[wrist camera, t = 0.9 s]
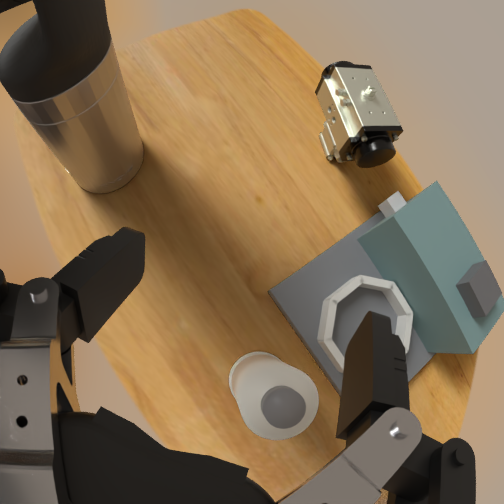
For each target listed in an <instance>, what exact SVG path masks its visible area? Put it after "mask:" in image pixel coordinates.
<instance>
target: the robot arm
mask: <svg viewBox="0 0 504 504" xmlns="http://www.w3.org/2000/svg"><path fill="white" fill-rule="evenodd" d="M29 1H32V0H0V13H2V12H4V11H7V10H9V9H11V8H14V7H16V6H19V5H21V4H24V3H26V2H29ZM33 2H34V4H35V8H36V11H37V14H36V15H34V16H33V17H32V18H30V19H29V20H28V21H26V22H25V23H24V24H23V25H22V26H21V27H20V28H19V29H18V30H17V31H16V32H15V33H14V34H13V35H12V36H11V38H10V39H9V40H8V42H7V43H6V44H5V46H4V48H3V49H2V51H1V53H0V82H1V83H2V85H3V86H4V88H5V89H6V91H7V92H8V94H9V95H10V97H11V98H12V99H13V101H14V102H15V104H16V105H17V106H18V108H19V109H20V111H21V112H22V113H23V115H24V116H25V117H26V118H27V120H28V121H29V122H30V124H31V125H32V126H33V128H34V129H35V130H36V132H37V133H38V134H39V136H40V137H41V138H42V140H43V141H44V142H45V143H46V145H47V146H48V147H49V149H50V150H51V151H52V152H53V154H54V155H55V156H56V157H57V159H58V160H59V161H60V162H61V164H62V165H63V166H64V167H65V169H66V170H67V171H68V172H69V174H70V175H71V176H72V177H73V178H74V180H75V181H76V182H77V183H78V184H79V186H80V187H82V188H83V189H85V190H86V191H89V192H92V193H99V194H100V193H108V192H112V191H115V190H117V189H119V188H121V187H123V186H124V185H125V184H127V183H128V182H129V181H130V180H131V179H132V178H133V177H134V176H135V175H136V173H137V172H138V170H139V169H140V166H141V164H142V161H143V156H144V148H143V144H142V141H141V138H140V135H139V131H138V128H137V124H136V121H135V118H134V115H133V111H132V108H131V105H130V102H129V98H128V95H127V92H126V88H125V85H124V81H123V78H122V74H121V71H120V67H119V64H118V61H117V57H116V53H115V49H114V46H113V42H112V38H111V34H110V30H109V27H108V22H107V15H106V7H105V0H33ZM144 265H145V235H144V233H142V232H139V231H136V230H133V229H130V228H128V227H123V228H121V229H120V230H119V231H118V232H116V233H115V234H114V235H113V236H109V235H108V236H106V237H103V238H101V239H98V240H96V241H94V242H93V243H92V244H91V245H89V246H88V247H87V248H86V250H83V251H82V252H81V253H80V254H79V256H76V257H75V258H74V259H73V260H72V261H70V262H69V263H68V264H67V265H66V266H65V267H63V268H62V269H61V270H60V271H59V272H58V273H57V274H55V275H54V277H52V278H51V279H49V278H44V277H40V278H35V279H32V280H30V281H28V282H26V283H25V284H24V285H23V286H22V285H17V284H13V283H8V282H6V279H5V276H4V273H3V271H2V270H1V269H0V504H374V503H375V502H376V501H377V500H378V499H379V497H380V496H381V491H380V490H381V488H383V489H385V490H387V491H389V492H388V499H387V504H475V501H476V471H475V455H474V452H473V450H472V448H471V446H470V445H469V444H468V443H467V442H466V441H464V440H463V439H460V438H452V439H450V440H448V441H447V442H445V443H444V444H442V443H440V442H438V441H436V440H434V439H432V438H430V437H428V436H426V435H425V434H423V433H422V428H421V425H420V422H419V420H418V419H417V417H416V416H415V415H414V414H413V413H412V412H410V405H409V388H408V374H407V363H406V353H405V347H404V345H403V343H402V341H401V339H400V337H399V335H395V334H392V326H391V319H390V317H388V316H385V315H382V314H379V313H376V312H373V311H368V312H367V314H366V315H365V317H364V318H363V320H362V322H361V323H360V325H359V327H358V328H357V330H356V332H355V333H354V335H353V337H352V338H351V340H350V342H349V344H348V346H347V349H346V352H345V358H344V369H343V380H342V390H341V399H340V408H339V416H338V424H337V432H336V438H339V439H344V440H346V448H345V449H344V450H343V451H341V452H340V453H339V454H338V455H337V456H336V457H334V458H333V459H332V460H331V461H330V462H329V463H327V464H326V465H325V466H324V467H322V468H321V469H320V470H319V471H318V472H316V473H315V474H314V475H313V476H311V477H310V478H309V479H307V480H306V481H305V482H303V483H302V484H301V485H299V486H298V487H297V488H295V489H294V490H292V491H291V492H290V493H288V494H287V495H285V496H284V497H283V498H281V499H280V500H278V501H277V502H274V500H273V499H272V498H271V496H270V495H269V494H268V493H267V492H266V491H265V490H264V489H263V488H262V487H261V486H259V485H258V484H257V483H255V482H254V481H253V480H251V479H249V478H248V477H246V476H247V473H248V470H249V468H246V467H242V466H239V465H236V464H233V463H230V462H227V461H224V460H221V459H218V458H215V457H212V456H208V455H200V454H193V453H187V452H180V451H175V450H170V449H167V448H165V447H163V446H162V445H161V444H159V443H158V442H157V441H155V440H154V439H153V438H151V437H150V436H149V435H147V434H146V433H145V432H144V431H143V430H141V429H140V428H139V427H137V426H136V425H135V424H134V423H132V422H130V421H128V420H126V419H124V418H122V417H120V416H118V415H116V414H114V413H112V412H111V411H109V410H107V409H105V408H103V407H100V409H99V410H98V412H97V413H96V414H94V413H88V412H81V411H80V406H79V403H78V399H77V394H76V383H75V366H74V346H73V342H74V341H75V340H76V339H77V338H80V339H82V340H84V341H85V342H87V343H89V342H90V341H91V339H92V338H93V337H94V336H95V335H96V333H97V332H98V331H99V330H100V328H101V327H102V326H103V325H104V324H105V322H106V321H107V320H108V319H109V318H110V317H111V315H112V314H113V313H114V312H115V311H116V309H117V308H118V307H119V306H120V305H121V304H122V302H123V301H124V300H125V299H126V298H127V297H128V295H129V294H130V293H131V292H132V291H133V290H134V289H135V287H136V286H137V285H138V284H139V282H140V281H141V279H142V276H143V273H144Z"/></svg>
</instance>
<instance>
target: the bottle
mask: <svg viewBox="0 0 504 504" xmlns="http://www.w3.org/2000/svg"><path fill="white" fill-rule="evenodd" d="M229 386H230V390H231V392H232V394H233V396H234V398H235V399H236V401H237V404H238V407H239V409H240V412H241V415H242V418H243V420H244V422H245V424H246V425H247V427H248V428H249V429H250V430H251V431H252V432H254V433H255V434H257V435H258V436H260V437H263V438H266V439H270V440H284V439H289V438H292V437H294V436H296V435H298V434H300V433H301V432H303V431H304V430H305V429H306V428H307V427H308V426H309V425H310V424H311V423H312V421H313V419H314V418H315V416H316V413H317V410H318V405H319V396H318V391H317V388H316V386H315V384H314V382H313V381H312V380H311V378H310V377H309V376H308V375H307V374H305V373H304V372H302V371H301V370H299V369H297V368H294V367H292V366H290V365H288V364H286V363H284V362H282V361H281V360H280V359H279V358H277V357H276V356H274V355H272V354H269V353H267V352H260V351H258V352H251V353H248V354H245V355H244V356H242V357H240V358H239V359H238V360H237V361H236V362H235V363H234V365H233V366H232V368H231V371H230V374H229Z"/></svg>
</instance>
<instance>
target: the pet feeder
mask: <svg viewBox="0 0 504 504" xmlns="http://www.w3.org/2000/svg"><path fill="white" fill-rule="evenodd" d="M378 207H379V209H380V211H379V212H378V213H376V214H375V215H374V216H372V217H371V218H370V219H368V220H367V221H366V222H364V223H363V224H362V225H360V226H359V227H358V228H356V229H355V230H353V231H352V232H351V233H349V234H348V235H347V236H345V237H344V238H343V239H341V240H340V241H338V242H337V243H336V244H334V245H333V246H332V247H330V248H329V249H327V250H326V251H325V252H323V253H322V254H320V255H319V256H318V257H316V258H315V259H313V260H312V261H311V262H309V263H308V264H306V265H305V266H304V267H302V268H301V269H299V270H298V271H296V272H295V273H294V274H292V275H291V276H289V277H288V278H286V279H285V280H284V281H282V282H281V283H279V284H278V285H276V286H275V287H273V288H272V289H271V290H269V291H268V293H269V295H270V296H271V297H272V299H273V300H274V302H275V303H276V305H277V306H278V308H279V309H280V310H281V312H282V313H283V315H284V316H285V318H286V319H287V321H288V322H289V324H290V325H291V326H292V328H293V329H294V331H295V332H296V334H297V335H298V336H299V338H300V339H301V341H302V342H303V344H304V345H305V347H306V348H307V349H308V351H309V352H310V354H311V355H312V357H313V358H314V360H315V361H316V362H317V364H318V365H319V367H320V368H321V370H322V371H323V372H324V374H325V375H326V377H327V378H328V380H329V381H330V382H331V384H332V385H333V387H334V388H335V390H336V391H337V392H338V394H339V395H340V397H341V390H342V380H343V369H344V358H345V352H346V349H347V346H348V344H349V342H350V340H351V338H352V337H353V335H354V333H355V332H356V330H357V328H358V327H359V325H360V323H361V322H362V320H363V318H364V317H365V315H366V314H367V312H368V311H373V312H376V313H379V314H382V315H385V316H388V317H390V319H391V326H392V334H395V335H399V337H400V339H401V341H402V343H403V345H404V347H405V353H406V363H407V374H408V382H409V381H410V380H411V379H412V378H413V377H414V376H415V375H416V374H417V373H418V372H419V371H420V370H421V369H422V368H423V367H424V365H425V364H426V363H427V362H428V361H429V360H430V359H431V358H432V357H433V356H434V355H435V354H436V353H454V354H474V352H475V351H476V350H477V348H478V347H479V346H480V344H481V343H482V342H483V340H484V339H485V338H486V336H487V335H488V333H489V332H490V331H491V329H492V327H493V326H494V325H495V323H496V322H497V320H498V319H499V317H500V316H501V314H502V313H503V312H504V298H503V296H502V292H501V290H500V288H499V285H498V283H497V281H496V279H495V277H494V275H493V273H492V271H491V269H490V267H489V265H488V263H487V261H486V260H484V258H483V256H482V254H481V252H480V250H479V248H478V247H477V245H476V243H475V241H474V240H473V238H472V236H471V234H470V232H469V231H468V229H467V227H466V226H465V224H464V222H463V221H462V219H461V217H460V216H459V214H458V212H457V211H456V209H455V208H454V206H453V205H452V203H451V201H450V200H449V198H448V197H447V195H446V194H445V192H444V191H443V190H442V188H441V186H440V185H439V183H438V182H437V181H436V182H434V183H433V184H432V185H430V186H429V187H427V188H426V189H424V190H423V191H421V192H420V193H419V194H417V195H416V196H414V197H413V198H411V199H410V200H408V201H407V202H406V201H405V200H404V198H403V197H402V195H401V194H400V193H399V191H397V192H396V193H394V194H393V195H392V196H390V197H389V198H387V199H386V200H385V201H384V202H382V203H381V204H380V205H378Z"/></svg>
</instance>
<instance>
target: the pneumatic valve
mask: <svg viewBox="0 0 504 504" xmlns="http://www.w3.org/2000/svg"><path fill="white" fill-rule="evenodd" d="M315 93H316V95H317V98H318V100H319V103H320V105H321V108H322V110H323V113H324V115H325V118H326V121H325V122H324V124H323V125H324V127H325V128H324V129H323V131H322V132H320V135H319V138H320V141H321V144H322V147H323V150H324V153H325V155H326V158H328V159H329V160H330V161H331V160H333V157H336V160H337V162H340V163H342V162H347V161H356V164H357V166H359V167H361V168H370V167H375V166H378V165H381V164H384V163H386V162H387V161H389V160H391V159H392V158H393V157H394V156H395V154H396V151H395V148H394V146H393V142H394V141H396V140H398V139H399V138H398V136H399V135H400V134H401V133H402V132H403V129H402V127H401V125H400V123H399V121H398V119H397V116H396V114H395V112H394V110H393V108H392V106H391V104H390V102H389V100H388V98H387V96H386V94H385V92H384V90H383V89H382V86H381V84H380V83H379V81H378V79H377V77H376V75H375V73H374V72H373V70H372V68H371V66H368V65H355V64H353V63H351V62H347V61H339V62H335V63H333V64H331V65H329V66H328V67H326V68H325V69H324V71H323V72H322V75H321V80H320V82H319V84H318V87H317V89H316V91H315Z"/></svg>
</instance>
